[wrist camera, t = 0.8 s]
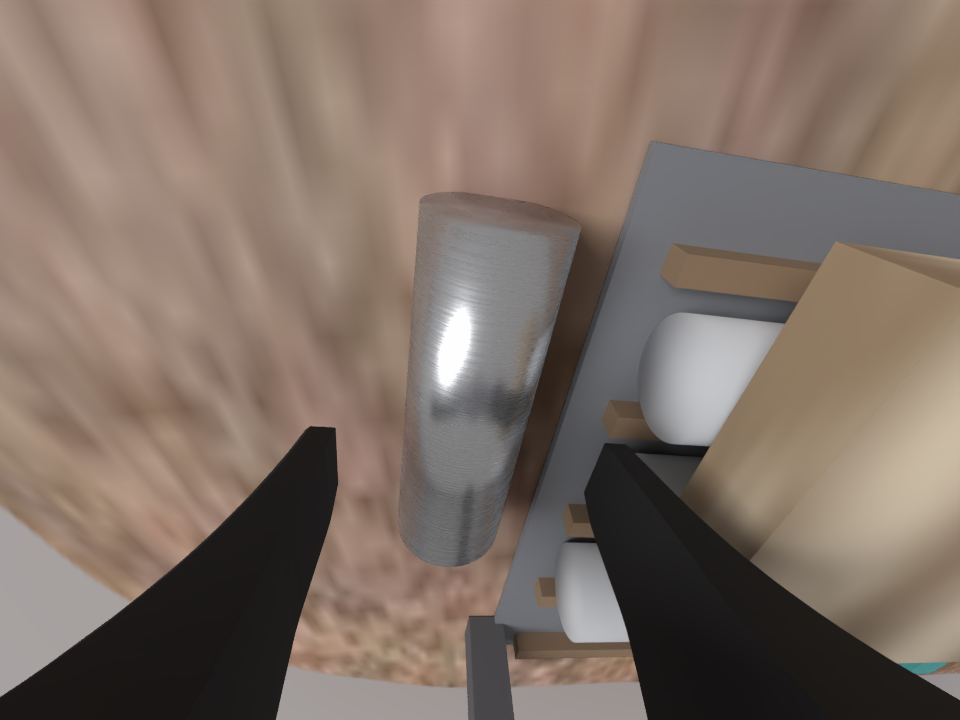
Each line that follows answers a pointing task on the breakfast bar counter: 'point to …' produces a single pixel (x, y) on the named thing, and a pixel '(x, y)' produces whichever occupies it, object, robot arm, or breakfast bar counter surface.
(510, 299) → the loose roller
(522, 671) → the breakfast bar counter surface
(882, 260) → the slab
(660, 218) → the roller bed
